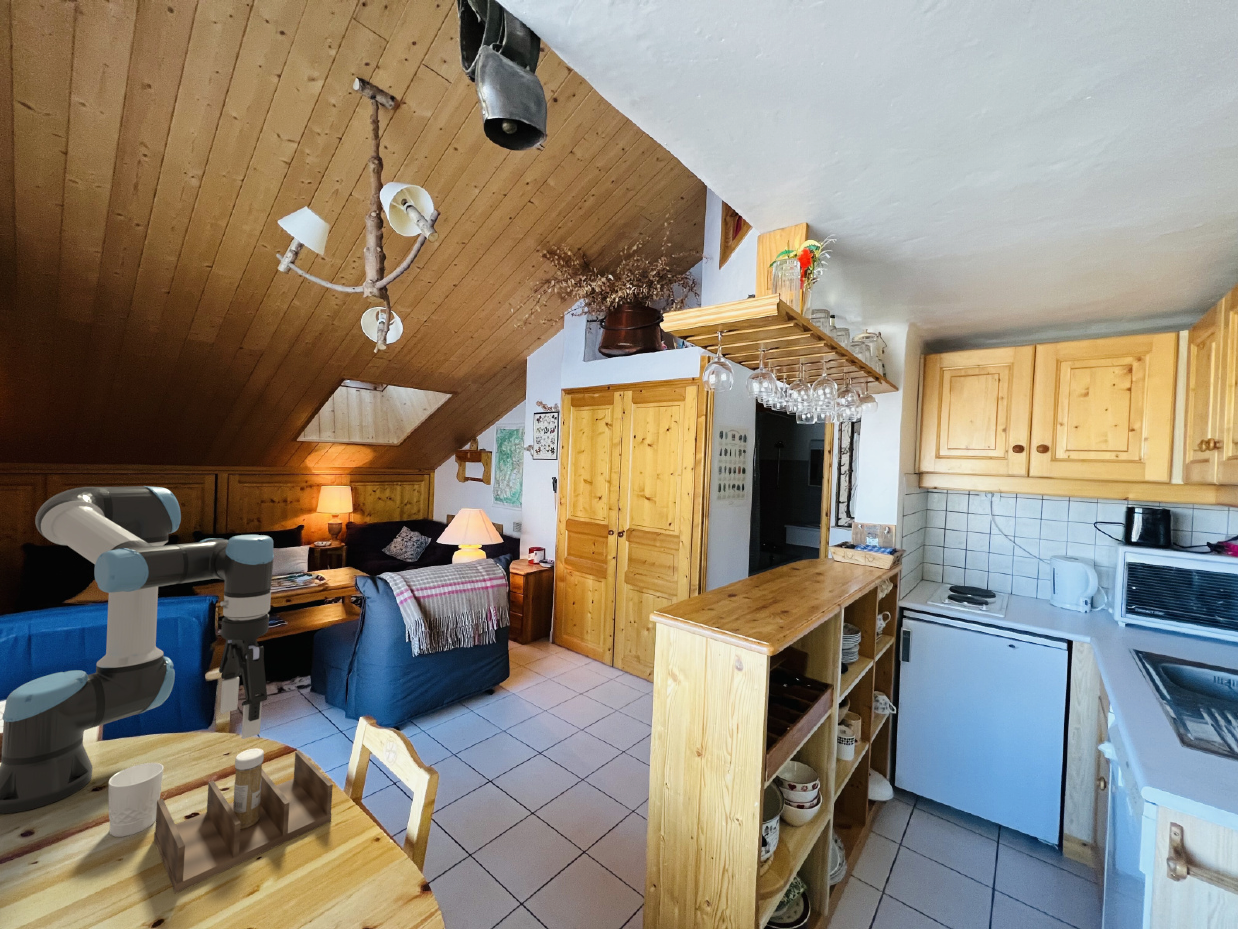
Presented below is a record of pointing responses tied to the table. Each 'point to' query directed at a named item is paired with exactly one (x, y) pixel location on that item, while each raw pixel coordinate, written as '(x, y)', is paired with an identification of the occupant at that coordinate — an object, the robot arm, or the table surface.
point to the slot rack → (217, 833)
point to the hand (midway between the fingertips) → (239, 723)
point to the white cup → (134, 798)
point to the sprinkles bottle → (248, 786)
